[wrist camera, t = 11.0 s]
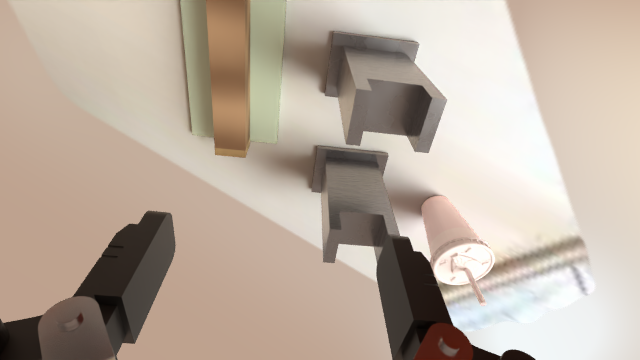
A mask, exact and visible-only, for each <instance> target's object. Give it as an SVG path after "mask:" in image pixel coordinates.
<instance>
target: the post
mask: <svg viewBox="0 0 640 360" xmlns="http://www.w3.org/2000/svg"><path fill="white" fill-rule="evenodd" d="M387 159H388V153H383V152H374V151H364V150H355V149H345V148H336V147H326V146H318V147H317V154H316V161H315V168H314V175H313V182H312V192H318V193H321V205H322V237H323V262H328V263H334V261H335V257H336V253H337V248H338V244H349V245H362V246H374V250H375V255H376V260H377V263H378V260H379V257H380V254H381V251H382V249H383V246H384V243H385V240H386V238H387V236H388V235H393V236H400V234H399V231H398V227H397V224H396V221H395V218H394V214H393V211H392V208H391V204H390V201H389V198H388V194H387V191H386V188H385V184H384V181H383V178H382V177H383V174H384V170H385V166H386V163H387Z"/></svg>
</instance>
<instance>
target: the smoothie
mask: <svg viewBox="0 0 640 360" xmlns="http://www.w3.org/2000/svg"><path fill="white" fill-rule="evenodd" d="M421 211H422V216H423V221H424V225H425V230H426V234H427V239H428V244H429V248H430V253H431V260H430V265H431V267H432V270H433V273H434V275H435V277H436V278H437V279H438V280H440V281H441V282H443V283H446V284H451V285H462V284H467V283H470V284H471V286H472V288H473V290H474V292H475V295H476V297H477V299H478V301H479V303H480V305H481V306H485V305H486V301H485V299H484V297H483V295H482V293H481V291H480V289H479V287H478V285H477V283H476V280H478V279H480V278H482V277H483V276H484V275H486V274H487V273H488V272H489V271H490V269H491V268H492V266H493V264H494V260H495V257H494V254H493V252H492V250H491V248H490V246H489V244H488V243H487V242H485V241H484V240H482V239H480V238H479V236H478V235H477V234H476V233H475V232H474V230H473V229H472V228H471V227H470V225H469V224H468V223H467V222H466V220H465V219H464V218H463V217H462V215H461V214H460V213H459V212H458V210H457V209H456V208H455V207H454V205H453V204H452V203H451V202H450V200H449V199H448V198H446V197H444V196H433V197H430V198H428V199H427V200H426V201H425V202H424V203H423V204H422V207H421Z"/></svg>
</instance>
